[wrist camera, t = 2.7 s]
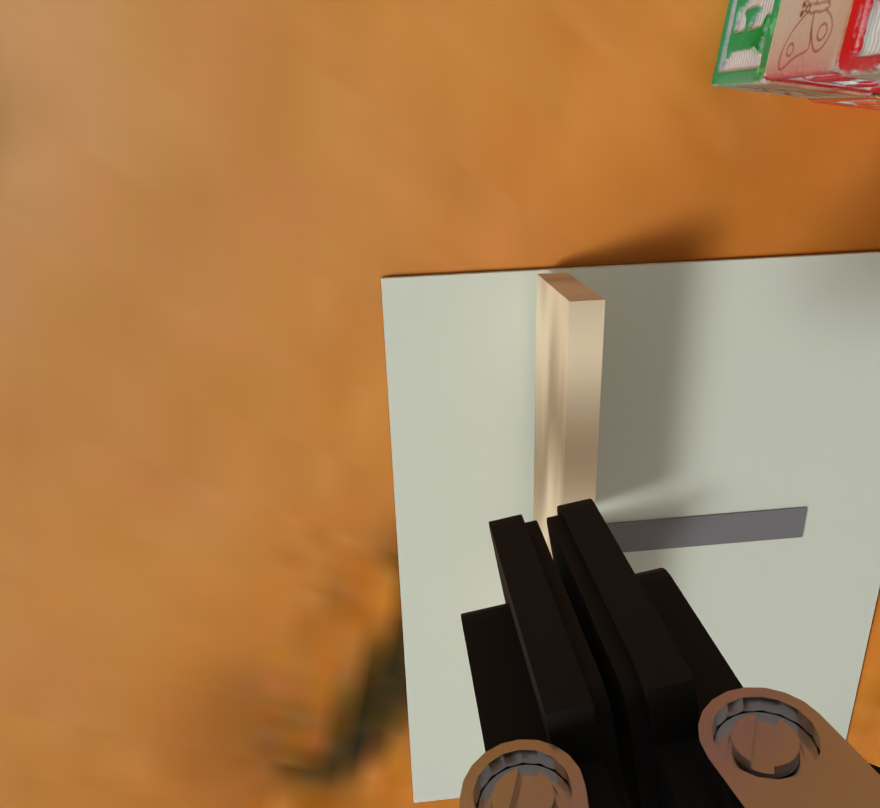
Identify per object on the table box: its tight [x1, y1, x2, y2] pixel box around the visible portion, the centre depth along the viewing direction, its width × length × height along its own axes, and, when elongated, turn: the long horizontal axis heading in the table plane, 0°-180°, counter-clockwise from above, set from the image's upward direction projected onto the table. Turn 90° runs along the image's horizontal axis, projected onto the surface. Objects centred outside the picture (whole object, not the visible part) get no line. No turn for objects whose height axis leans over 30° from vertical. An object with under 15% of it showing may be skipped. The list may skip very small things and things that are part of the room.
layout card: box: [381, 251, 880, 803], centre depth 26 cm, size 21×18×1 cm
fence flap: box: [533, 272, 605, 558], centre depth 21 cm, size 8×1×4 cm, turn 2°
